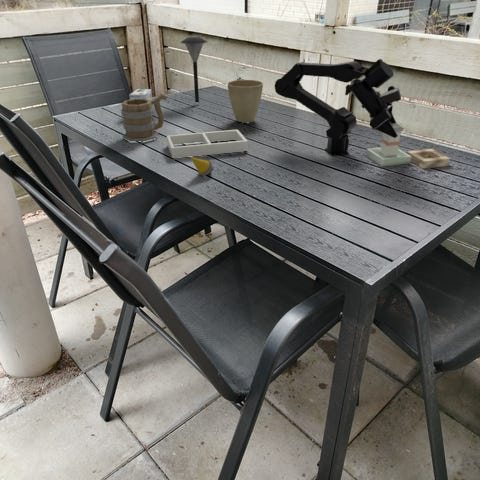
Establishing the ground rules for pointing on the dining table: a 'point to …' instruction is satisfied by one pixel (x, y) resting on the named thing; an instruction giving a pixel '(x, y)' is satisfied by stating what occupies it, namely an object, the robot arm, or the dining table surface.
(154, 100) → the tankard
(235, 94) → the plant pot
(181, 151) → the parts bin
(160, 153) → the dining table surface
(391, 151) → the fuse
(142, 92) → the light bulb box
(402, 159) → the tray
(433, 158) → the collar block
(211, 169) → the yellow tapered piece
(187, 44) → the solar garden light
